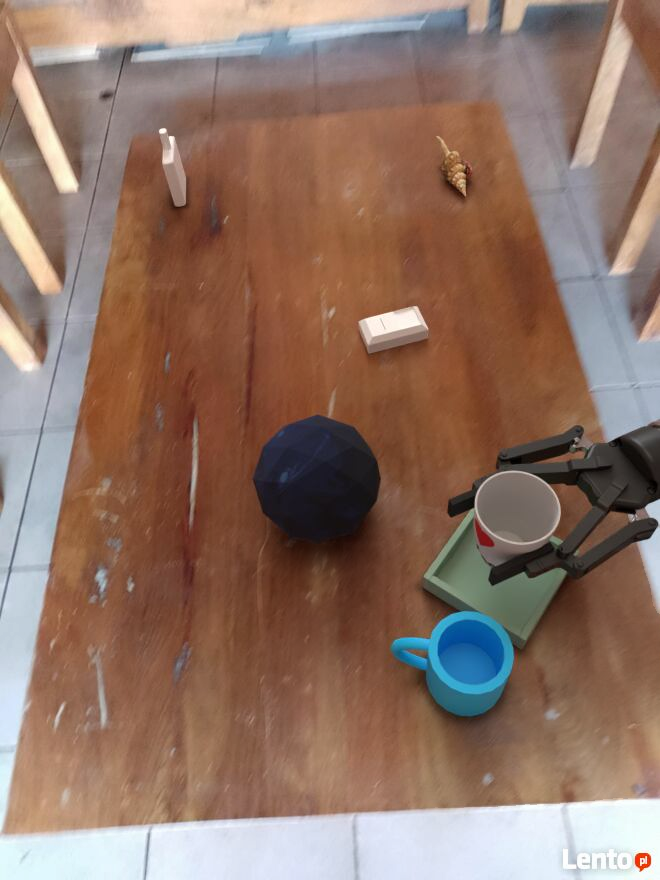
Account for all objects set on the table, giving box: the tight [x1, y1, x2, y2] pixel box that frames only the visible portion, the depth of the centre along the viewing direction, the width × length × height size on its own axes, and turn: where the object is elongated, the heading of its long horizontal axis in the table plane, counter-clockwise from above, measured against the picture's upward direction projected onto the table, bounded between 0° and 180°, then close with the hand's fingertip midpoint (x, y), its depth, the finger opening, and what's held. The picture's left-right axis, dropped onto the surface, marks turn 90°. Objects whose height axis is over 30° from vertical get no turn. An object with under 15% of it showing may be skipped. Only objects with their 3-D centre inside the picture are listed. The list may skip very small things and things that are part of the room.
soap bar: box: [357, 305, 430, 355], centre depth 103 cm, size 5×9×3 cm, turn 105°
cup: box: [473, 471, 562, 568], centre depth 73 cm, size 8×8×10 cm
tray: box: [422, 508, 581, 651], centre depth 81 cm, size 13×13×3 cm
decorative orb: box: [252, 414, 382, 544], centre depth 83 cm, size 14×15×15 cm
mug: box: [390, 611, 515, 717], centre depth 73 cm, size 12×8×8 cm
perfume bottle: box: [158, 127, 187, 208], centre depth 123 cm, size 8×2×12 cm, turn 6°
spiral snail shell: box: [435, 135, 474, 197], centre depth 123 cm, size 14×5×4 cm, turn 33°
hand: (470, 542), depth 71 cm, fingers closed on cup, 8 cm apart
